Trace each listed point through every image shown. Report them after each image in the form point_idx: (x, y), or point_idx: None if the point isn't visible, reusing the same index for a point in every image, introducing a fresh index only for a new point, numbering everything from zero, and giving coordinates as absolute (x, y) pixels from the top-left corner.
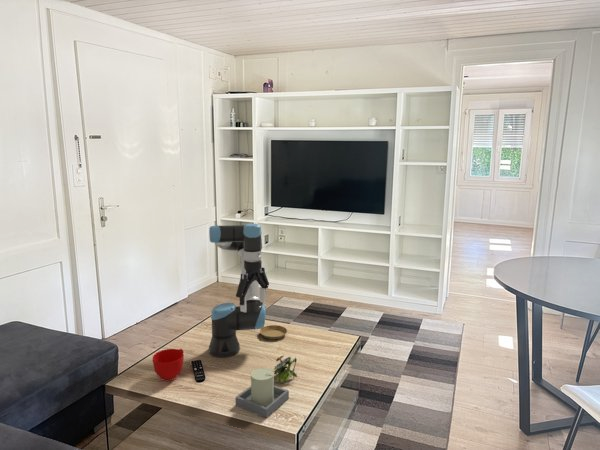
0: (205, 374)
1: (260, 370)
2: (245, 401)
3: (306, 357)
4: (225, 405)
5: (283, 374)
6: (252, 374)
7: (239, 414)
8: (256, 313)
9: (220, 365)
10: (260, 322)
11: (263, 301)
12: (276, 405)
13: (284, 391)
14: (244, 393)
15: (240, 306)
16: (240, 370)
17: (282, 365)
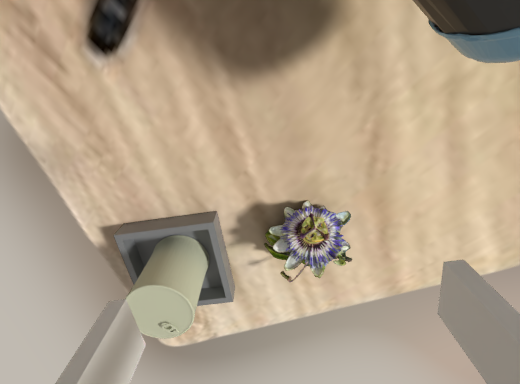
0: (134, 20)
1: (167, 297)
2: (125, 262)
3: (437, 199)
4: (102, 206)
5: (279, 253)
6: (133, 297)
7: (112, 252)
8: (511, 5)
9: (212, 7)
10: (463, 51)
11: (446, 311)
12: None
13: (225, 294)
14: (143, 236)
15: (80, 347)
16: (241, 99)
17: (290, 256)
